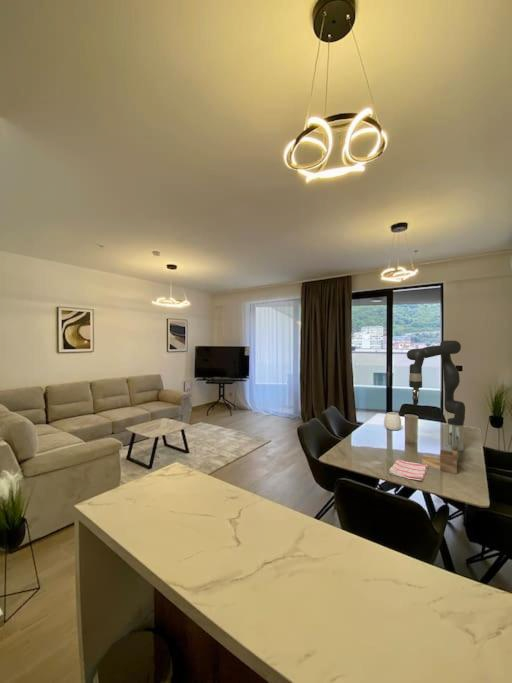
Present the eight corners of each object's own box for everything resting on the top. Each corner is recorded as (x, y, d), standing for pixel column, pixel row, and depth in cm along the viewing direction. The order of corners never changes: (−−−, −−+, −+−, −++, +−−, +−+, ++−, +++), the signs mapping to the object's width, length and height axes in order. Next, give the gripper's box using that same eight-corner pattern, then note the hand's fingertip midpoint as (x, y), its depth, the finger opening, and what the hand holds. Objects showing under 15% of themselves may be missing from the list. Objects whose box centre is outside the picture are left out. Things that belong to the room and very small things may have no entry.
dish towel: (388, 475, 167) (388, 468, 167) (397, 461, 186) (397, 456, 186) (422, 483, 157) (422, 477, 157) (428, 468, 176) (428, 462, 176)
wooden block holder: (440, 464, 180) (440, 441, 180) (457, 467, 176) (457, 443, 176) (440, 470, 171) (440, 446, 171) (457, 474, 167) (457, 449, 167)
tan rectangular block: (423, 463, 183) (423, 453, 183) (446, 468, 175) (446, 458, 175) (422, 465, 180) (421, 455, 180) (445, 470, 172) (445, 460, 172)
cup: (403, 429, 252) (403, 413, 252) (398, 432, 243) (398, 416, 243) (387, 426, 261) (387, 410, 261) (381, 429, 252) (381, 413, 252)
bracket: (459, 468, 173) (459, 434, 173) (445, 465, 177) (445, 432, 177) (458, 453, 197) (458, 423, 197) (445, 451, 200) (445, 421, 200)
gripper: (410, 378, 203) (410, 402, 203) (408, 380, 191) (408, 406, 191) (423, 379, 199) (423, 403, 199) (421, 381, 187) (421, 407, 187)
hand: (415, 404), depth 195 cm, fingers open, 8 cm apart
